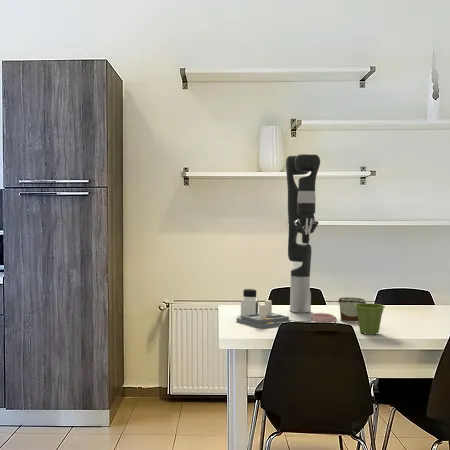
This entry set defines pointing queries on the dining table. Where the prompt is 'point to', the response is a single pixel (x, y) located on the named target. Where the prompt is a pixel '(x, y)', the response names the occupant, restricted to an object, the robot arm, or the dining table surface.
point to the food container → (349, 308)
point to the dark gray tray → (263, 320)
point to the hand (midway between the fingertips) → (305, 243)
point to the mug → (323, 317)
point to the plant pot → (369, 317)
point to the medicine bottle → (249, 302)
